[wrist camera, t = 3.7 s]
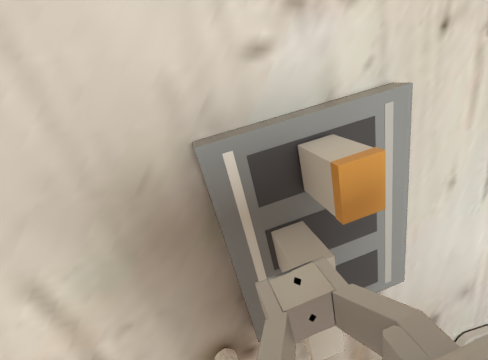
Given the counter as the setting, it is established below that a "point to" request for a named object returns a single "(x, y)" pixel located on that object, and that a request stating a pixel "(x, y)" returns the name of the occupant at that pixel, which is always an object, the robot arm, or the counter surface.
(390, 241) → the panel
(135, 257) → the counter surface
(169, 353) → the counter surface
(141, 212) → the counter surface
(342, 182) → the block
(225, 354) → the lightbulb
